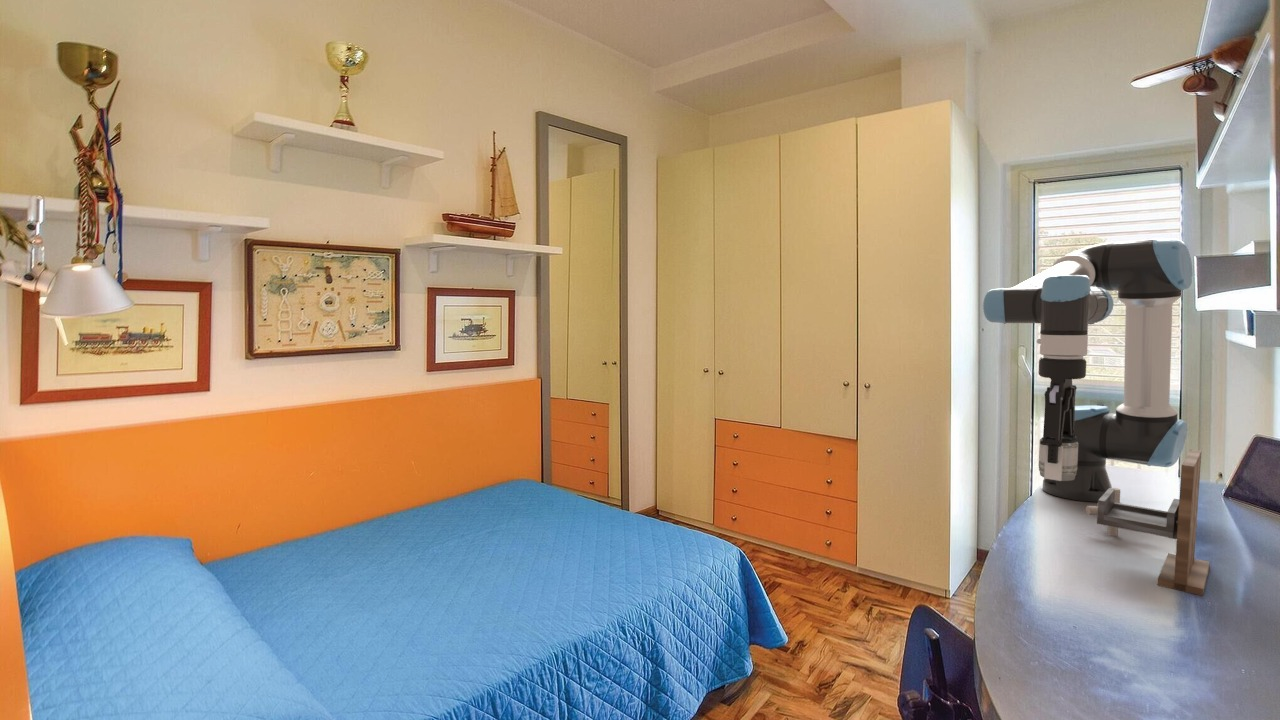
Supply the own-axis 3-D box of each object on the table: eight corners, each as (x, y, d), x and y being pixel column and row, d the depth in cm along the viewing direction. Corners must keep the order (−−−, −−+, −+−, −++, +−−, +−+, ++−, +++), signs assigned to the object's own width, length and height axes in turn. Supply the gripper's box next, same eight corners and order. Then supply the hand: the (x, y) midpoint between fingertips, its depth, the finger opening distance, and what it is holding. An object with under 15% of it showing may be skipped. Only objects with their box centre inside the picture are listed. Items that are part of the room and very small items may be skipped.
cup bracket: (1107, 546, 129) (1113, 440, 127) (1209, 567, 118) (1217, 452, 116) (1092, 569, 118) (1098, 453, 116) (1202, 595, 107) (1211, 468, 105)
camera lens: (1030, 472, 125) (1032, 434, 124) (1062, 472, 125) (1063, 433, 124) (1052, 481, 119) (1053, 440, 118) (1084, 481, 119) (1086, 440, 118)
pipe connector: (1152, 544, 130) (1155, 497, 129) (1098, 541, 132) (1101, 494, 131) (1125, 527, 139) (1128, 483, 139) (1075, 525, 141) (1077, 481, 141)
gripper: (1051, 352, 129) (1047, 462, 131) (1026, 359, 116) (1021, 482, 118) (1096, 354, 124) (1090, 469, 126) (1074, 361, 110) (1069, 490, 112)
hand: (1057, 475), depth 122 cm, fingers closed on camera lens, 6 cm apart
